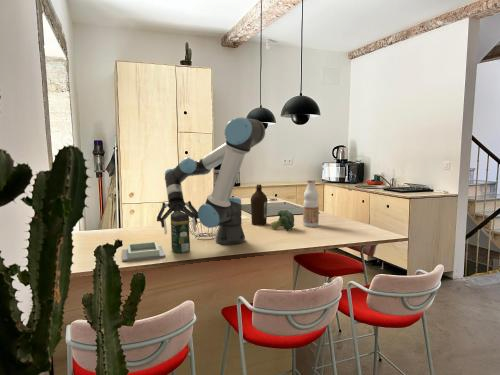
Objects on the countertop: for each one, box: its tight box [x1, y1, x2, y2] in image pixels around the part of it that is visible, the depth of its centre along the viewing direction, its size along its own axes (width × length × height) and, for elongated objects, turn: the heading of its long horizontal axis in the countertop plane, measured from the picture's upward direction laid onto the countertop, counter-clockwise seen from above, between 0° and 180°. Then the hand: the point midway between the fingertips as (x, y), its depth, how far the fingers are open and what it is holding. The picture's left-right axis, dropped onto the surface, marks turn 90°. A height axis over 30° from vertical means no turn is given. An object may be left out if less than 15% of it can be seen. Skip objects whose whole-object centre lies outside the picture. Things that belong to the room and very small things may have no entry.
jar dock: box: [121, 241, 166, 263], centre depth 162 cm, size 18×16×4 cm
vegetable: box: [270, 209, 295, 231], centre depth 210 cm, size 12×13×15 cm
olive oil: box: [250, 184, 268, 226], centre depth 224 cm, size 11×11×25 cm
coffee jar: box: [170, 211, 191, 254], centre depth 167 cm, size 10×8×19 cm
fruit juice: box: [302, 179, 320, 228], centre depth 219 cm, size 9×9×28 cm
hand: (180, 231), depth 165 cm, fingers open, 13 cm apart
